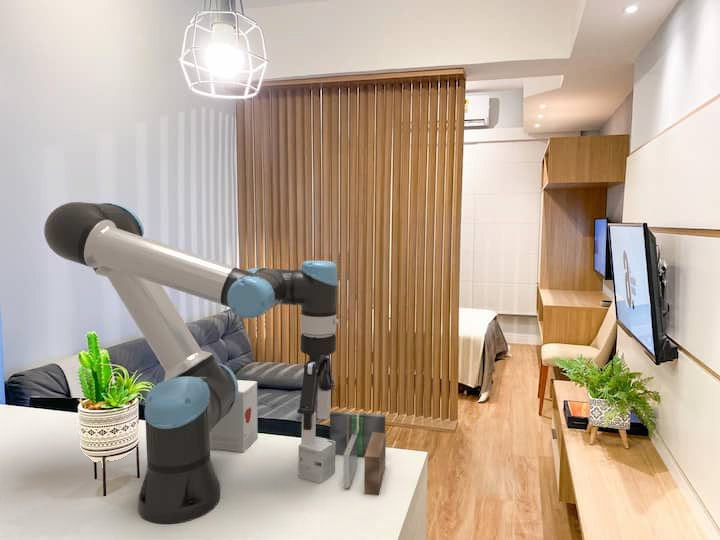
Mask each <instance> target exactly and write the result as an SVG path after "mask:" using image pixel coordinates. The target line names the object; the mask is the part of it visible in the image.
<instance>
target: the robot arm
mask: <svg viewBox="0 0 720 540" xmlns="http://www.w3.org/2000/svg"><path fill="white" fill-rule="evenodd" d="M45 220H46V221H45V224H44V228H43V232H44V234H43V235H44V238H45V241H46V244H47V246H48V247H49V249H51V250H52V251H53V252H54V253H55V254H56V255H57V256H59V257H61V258H62V259H65V260H68V261H70V262H74V263H77V264H80V265H83V266H86V267H90V268H92V269H93V271H94V272H95V274H96V275H99V276H102V277H106V278H107V279H108V281H109V282H110V283H111V286H112V287H113V289H114V290H115V292H116V293H117V295H118V297H119V298H120V301H122V303H123V305H124V307H125V308H126V309H127V312H128V313H129V314H130V316H131V318H132V319H133V322H134V323H135V324H136V326H137V328H138V329H139V331H140V332H141V334H142V335H143V337H144V339H145V340H146V342H147V344H148V345H149V347H150V349H151V350H152V352H153V354H154V355H155V357H156V358H157V360H158V362H159V363H160V365H161V367H162V368H163V370H164V372H165V374H164V378H163V380H162V381H160V382H159V383H156V385H154V386H152V387H151V388H150V390H149V391H148V392H147V393H146V397H145V407H144V419H145V436H146V437H145V440H146V441H145V442H146V444H145V445H146V463H147V464H146V467H147V468H146V471H145V474H144V479H143V482H142V485H141V487H140V488H141V489H140V492H139V494H138V512H139V515H141V517H142V518H144V519H145V520H147V521H151V522H153V523H158V524H159V523H160V524H175V523H181V522H186V521H190V520H193V519H194V520H195V519H196V518H199V517H201V516H204V515H205V514H206V513H208V512H210V511H211V510H213V509H214V508H215V507H217V505H218V503H219V502H220V499H221V485H220V481H219V478H218V476H217V473H216V470H215V467H214V466H213V463H212V460H211V459H212V458H211V449H210V430H211V429H212V428H213V427H214V426H215V425H216V424H217V423H218V422H219V421H220V420H221V419H222V418H223V417H224V416H226V415H227V414H228V412H229V411H230V410H231V409H232V407H233V405H234V403H235V401H236V399H237V396H238V382H237V380H238V379H237V377H236V375H235V374H234V372H233V371H232V370H231V369H230V368H229V367H228V366H227V365H223V364H221V363H219V362H217V361H218V360H217V359H216V358H215V357H214V354H213V353H212V352H209V351H205V350H202V348H201V347H200V345H199V344H198V342H197V341H196V338H195V337H194V336H193V334H192V333H191V331H190V329H189V327H188V325H187V324H186V323H185V321H184V319H183V318H182V316H181V315H180V313H179V311H178V310H177V307H176V306H175V305H174V303H173V301H172V300H171V298H170V296H169V294H168V293H167V291H166V290H165V287H167V288H169V289H172V290H175V291H180V292H182V293H185V294H187V295H191V296H195V297H197V298H200V299H203V300H206V301H209V302H213V303H215V304H218V305H221V306H225V307H227V308H229V309H230V310H231V311H232V313H234V314H235V315H236V316H237V317H240V318H241V319H254V318H259V317H260V316H262V315H265V314H267V313H268V312H269V311H271V309H273V308H275V307H276V306H278V305H281V306H283V305H284V306H285V305H287V306H300V307H301V311H300V332H301V333H302V334H300V348H299V349H300V352H301V353H302V354H305V355H308V356H309V358H308V361H307V362H305V363H304V365H303V378H302V386H301V393H300V399H299V407H298V408H297V414H300V415H301V437H300V438H301V443H300V444H311V445H314V444H315V436H316V425H317V424H316V419H320V420H330V413H331V409H330V408H331V391H333V390H334V388H335V385H334V384H333V374H332V373H333V372H332V361H331V355H332V354H334V353H335V352H336V349H337V335H336V334H335V333H336V332H337V325H338V324H339V323H340V320H339V319H338V318H337V313H338V311H337V310H338V309H337V308H338V285H339V282H338V267H337V264H336V262H333V261H330V260H313V259H312V260H305V261H303V262H302V263H301V264H302V265H301V267H300V269H282V268H266V267H258V268H253V267H252V268H248V269H247V270H245V269H242V268H238V267H235V266H234V265H233V266H232V265H230V264H226V263H224V262H221V261H217V260H214V259H211V258H208V257H205V256H202V255H199V254H196V253H194V252H190V251H187V250H184V249H181V248H178V247H175V246H172V245H168V244H166V243H162V242H159V241H157V240H154V239H152V238H151V239H150V238H147V237H144V235H145V231H144V226H143V223H142V221H141V219H140V217H138V215H137V214H136V213H135V212H134V211H133V210H131V209H130V208H128V207H126V206H123V205H119V204H115V203H111V202H102V203H96V202H95V203H94V202H81V201H75V202H74V201H72V202H68V203H64V204H62V205H60V206H58V207H55V209H54V210H52V211H51V212H50V214H49V215H48V217H47V218H46V219H45ZM163 286H164V287H163ZM316 404H317V411H316V412H315V409H316Z"/></svg>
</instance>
